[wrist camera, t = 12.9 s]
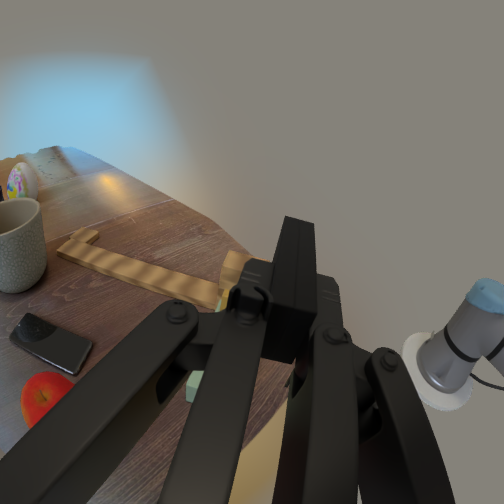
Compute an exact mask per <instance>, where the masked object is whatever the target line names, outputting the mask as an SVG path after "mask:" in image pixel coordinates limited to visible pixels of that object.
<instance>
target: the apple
mask: <svg viewBox="0 0 504 504" xmlns="http://www.w3.org/2000/svg"><path fill="white" fill-rule="evenodd" d="M74 385H75V384H73V383H72V382H70V381H69V380H67V379H66V378H65V377H63V376H62V375H60V374H59V373H54V372H48V371H47V372H42V373H37V374H35V375H34V376H33V377H32V378H30V379H29V380H28V381H27V383H26V384H25V386H24V387H23V389H22V393H21V400H20V402H21V409H22V414H23V417H24V420H25V422H26V423H27V425H28V427H29V428H30V429H31V428H32V427H33V426H34V425H35V424H36V423H37V422H38V421H39V420H40V419H41V418H42V417H43V416H44V415H45V414H46V413H47V412H48V411H49V410H50V409H51V408H52V407H53V406H54V405H55V404H56V403H57V402H58V401H59V400H60V399H61V398H62V397H63V396H64V395H65V394H66V393H67V392H68V391H69V390H70V389H71V388H72V387H73V386H74Z"/></svg>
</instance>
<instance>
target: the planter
mask: <svg viewBox="0 0 504 504" xmlns="http://www.w3.org/2000/svg"><path fill="white" fill-rule="evenodd" d="M46 264H47V251H46V244H45V238H44V231H43V224H42V216H41V208H40V204H39V202H38V201H37V200H35V199H32V198H26V197H20V198H12V199H8V200H5V201H2V202H0V291H2V292H5V293H20V292H23V291H25V290H27V289H29V288H31V287H32V286H33V285H34V284H36V282H37V281H38V280H39V279H40V278H41V276H42V274H43V273H44V270H45V268H46Z"/></svg>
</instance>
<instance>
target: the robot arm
mask: <svg viewBox="0 0 504 504" xmlns="http://www.w3.org/2000/svg"><path fill="white" fill-rule="evenodd" d="M315 251H316V250H315V233H314V223H310V222H306V221H303V220H299V219H295V218H292V217H288V216H285V218H284V222H283V225H282V229H281V233H280V236H279V240H278V243H277V247H276V251H275V254H274V258H273V261H272V263H271V262H267V261H264V260H260V259H256V258H251V259H249V260H248V261H247V262H245V264H244V267H243V269H242V272H241V275H240V278H239V280H238V283H237V284H236V285H234V286H233V287H232V288H231V289H230V291H229V295H228V300H227V306H226V308H225V309H223V310H221V311H219V312H215V313H199V312H198V310H197V309H196V307H195V306H194V305H192V304H191V303H190V302H187V301H184V300H176V299H173V300H169V301H166V302H164V303H162V304H161V305H159V306H158V307H157V308H156V309H155V310H154V311H153V312H152V313H151V314H150V315H148V316H147V317H146V318H145V319H144V320H143V321H142V322H141V323H140V324H139V325H138V326H137V327H135V328H134V329H133V330H132V331H131V332H130V333H129V334H128V335H127V336H126V337H125V338H124V339H123V340H122V341H120V342H119V343H118V344H117V345H116V346H115V347H114V348H113V349H112V350H111V351H110V352H109V353H108V354H107V355H106V356H105V357H103V358H102V359H101V360H100V361H99V362H98V363H97V364H96V365H95V366H94V367H93V368H92V369H91V370H90V371H89V372H88V373H87V374H86V375H85V376H84V377H83V378H82V379H80V380H79V381H78V382H77V383H76V384H75V385H74V386H73V387H72V388H71V389H70V390H69V391H68V392H67V393H66V394H65V395H64V396H63V397H62V398H61V399H60V400H59V401H58V402H57V403H56V404H55V405H54V406H53V407H52V408H51V409H50V410H49V411H48V412H47V413H46V414H45V415H44V416H43V417H42V418H41V419H40V420H39V421H38V422H37V423H36V424H35V425H34V426H33V427H32V428H31V429H30V430H29V431H28V432H27V433H26V434H25V435H24V436H23V437H22V438H21V439H20V440H19V441H18V442H17V443H16V444H15V445H14V446H13V447H12V448H11V450H10V451H9V452H8V453H7V454H6V455H5V456H4V457H3V458H2V459H1V460H0V504H86V503H87V502H88V501H89V499H90V498H91V497H92V496H93V495H94V494H95V492H96V491H97V490H98V489H99V488H100V487H101V485H102V484H103V483H104V482H105V481H106V479H107V478H108V477H109V476H110V475H111V474H112V472H113V471H114V470H115V469H116V468H117V466H118V465H119V464H120V463H121V461H122V460H123V459H124V458H125V457H126V455H127V454H128V453H129V452H130V451H131V449H132V448H133V447H134V446H135V444H136V443H137V442H138V441H139V439H140V438H141V437H142V436H143V434H144V433H145V432H146V431H147V430H148V428H149V427H150V426H151V425H152V423H153V422H154V421H155V420H156V418H157V417H158V416H159V414H160V413H161V412H162V411H163V409H164V408H165V407H166V406H167V404H168V403H169V402H170V400H171V399H172V398H173V397H174V395H175V394H176V393H177V392H178V390H179V389H180V388H181V386H182V385H183V384H184V383H185V381H186V380H187V379H188V377H189V376H190V375H191V373H192V372H193V371H204V372H203V375H202V378H201V380H200V383H199V386H198V389H197V392H196V394H195V397H194V400H193V403H192V406H191V409H190V411H189V414H188V417H187V420H186V423H185V425H184V428H183V431H182V434H181V437H180V440H179V442H178V445H177V448H176V451H175V454H174V457H173V459H172V462H171V465H170V468H169V471H168V474H167V476H166V479H165V482H164V485H163V488H162V491H161V494H160V497H159V499H158V502H157V504H228V502H229V498H230V493H231V490H232V486H233V481H234V477H235V473H236V469H237V464H238V460H239V456H240V451H241V447H242V443H243V438H244V434H245V429H246V424H247V420H248V415H249V411H250V406H251V401H252V396H253V391H254V387H255V382H256V377H257V372H258V367H259V362H260V357H261V358H265V359H269V360H274V361H278V362H283V363H287V364H292V363H293V361H294V359H295V357H296V362H295V368H294V369H293V371H292V373H291V375H290V376H289V378H288V380H287V382H286V384H285V387H288V385H289V393H288V401H287V409H286V418H285V424H284V432H283V439H282V446H281V452H280V459H279V465H278V471H277V477H276V483H275V488H274V494H273V499H272V504H357V496H358V495H357V494H358V485H359V490H360V495H361V500H362V504H455V500H454V496H453V492H452V489H451V485H450V482H449V478H448V475H447V471H446V468H445V465H444V462H443V459H442V456H441V453H440V450H439V447H438V444H437V441H436V438H435V436H434V433H433V430H432V428H431V425H430V422H429V420H428V417H427V415H426V412H425V409H424V407H423V405H422V402H421V400H420V397H419V395H418V392H417V390H416V388H415V385H414V383H413V381H412V379H411V376H410V374H409V372H408V370H407V367H406V365H405V363H404V361H403V359H402V358H401V356H400V355H399V354H398V353H397V352H395V351H394V350H392V349H389V348H385V347H381V348H377V349H376V350H375V351H374V352H373V353H370V352H368V351H366V350H364V349H361V348H359V347H358V346H356V345H354V344H353V343H352V339H351V336H350V334H349V333H348V331H347V330H346V329H345V328H343V319H342V311H341V303H340V296H339V295H340V293H339V286H338V284H337V283H336V282H335V280H334V278H332V277H329V276H325V275H321V274H317V272H316V252H315ZM482 355H483V356H484V357H485V358H486V359H487V360H488V361H489V362H490V363H491V364H492V365H493V366H494V367H495V368H496V369H497V370H498V371H499V372H500V373H501V374H502V376H503V377H504V285H503V284H501V283H499V282H497V281H495V280H492V279H489V278H482V279H479V280H478V281H477V282H476V283H475V284H474V286H473V287H472V289H471V290H470V291H469V292H468V293H467V294H466V298H465V300H464V301H463V302H462V304H461V305H460V307H459V308H458V310H457V311H456V312H455V314H454V315H453V317H452V318H451V320H450V321H449V322H448V324H447V325H446V326H445V328H444V329H442V330H441V331H439V332H438V333H437V334H435V335H434V331H433V332H432V333H431V338H429V339H427V340H426V341H424V343H423V344H422V345H421V346H420V348H419V349H418V351H417V354H416V361H417V366H418V369H419V371H420V373H421V375H422V376H423V378H424V379H425V380H426V382H427V383H428V384H429V385H430V386H431V387H433V388H434V389H436V390H437V391H439V392H442V393H446V394H452V393H455V392H457V391H458V390H459V389H460V388H461V387H462V386H463V385H464V384H465V383H466V380H467V378H468V376H471V377H472V378H474V379H475V380H476V381H478V382H479V383H481V384H483V385H486V386H489V387H492V388H495V389H499V390H503V391H504V387H500V386H496V385H493V384H489V383H487V382H484V381H482V380H480V379H479V378H478V377H476V376H475V375H474V374H472V373H471V371H472V369H473V367H474V365H475V363H476V362H477V361H478V360H479V358H480V357H481V356H482Z"/></svg>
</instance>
